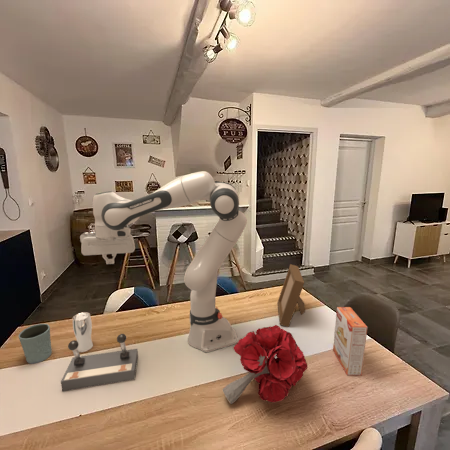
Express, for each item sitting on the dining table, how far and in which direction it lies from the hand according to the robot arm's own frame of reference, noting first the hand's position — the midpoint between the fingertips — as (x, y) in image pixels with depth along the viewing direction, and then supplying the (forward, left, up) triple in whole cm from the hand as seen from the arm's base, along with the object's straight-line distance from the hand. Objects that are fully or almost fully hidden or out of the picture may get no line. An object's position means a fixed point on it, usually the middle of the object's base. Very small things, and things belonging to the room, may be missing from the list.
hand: (110, 263), depth 108 cm
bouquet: (-54, +38, -37) cm, 76 cm away
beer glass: (+13, +1, -37) cm, 40 cm away
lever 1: (+10, +17, -33) cm, 38 cm away
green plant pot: (+30, +3, -37) cm, 48 cm away
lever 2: (-6, +17, -33) cm, 37 cm away
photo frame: (-87, -3, -37) cm, 95 cm away
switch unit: (+2, +18, -37) cm, 41 cm away
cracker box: (-92, +33, -37) cm, 105 cm away
